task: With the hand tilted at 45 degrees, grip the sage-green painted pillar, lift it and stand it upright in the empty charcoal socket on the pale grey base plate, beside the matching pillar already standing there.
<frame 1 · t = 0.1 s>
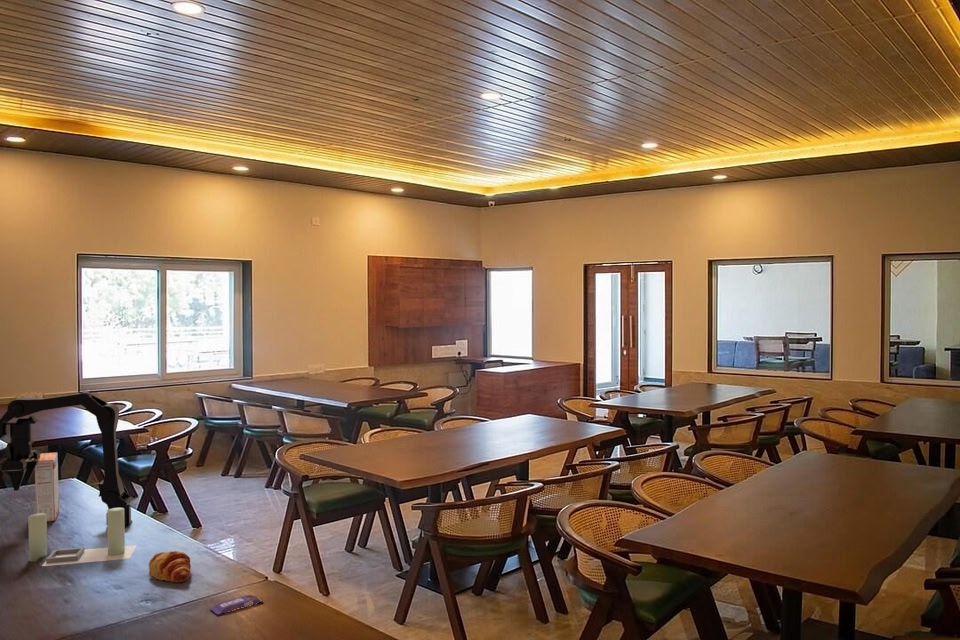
hand: (21, 487, 233), 15 cm above the table, tool pointing down, fingers open, 9 cm apart
pillar: (38, 559, 209), on the table
base plate: (91, 558, 210), on the table
croissant: (170, 575, 197), on the table
fixed pillar: (116, 553, 211), resting on base plate
cracker box: (47, 517, 251), on the table
snack package: (237, 609, 176), on the table
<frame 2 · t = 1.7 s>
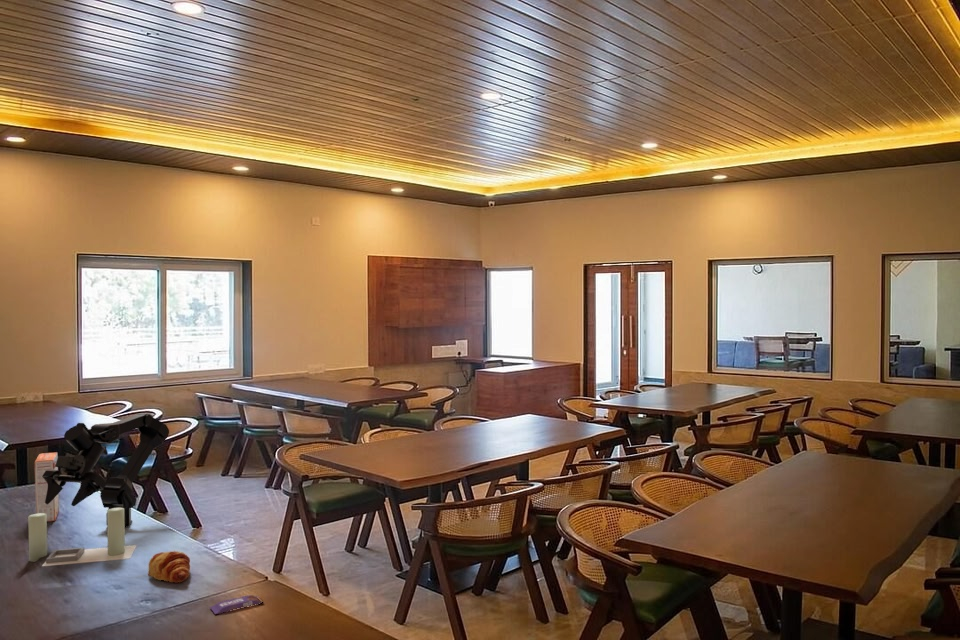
hand: (59, 504, 217), 13 cm above the table, tool tilted 45°, fingers open, 9 cm apart
nothing on the table moved.
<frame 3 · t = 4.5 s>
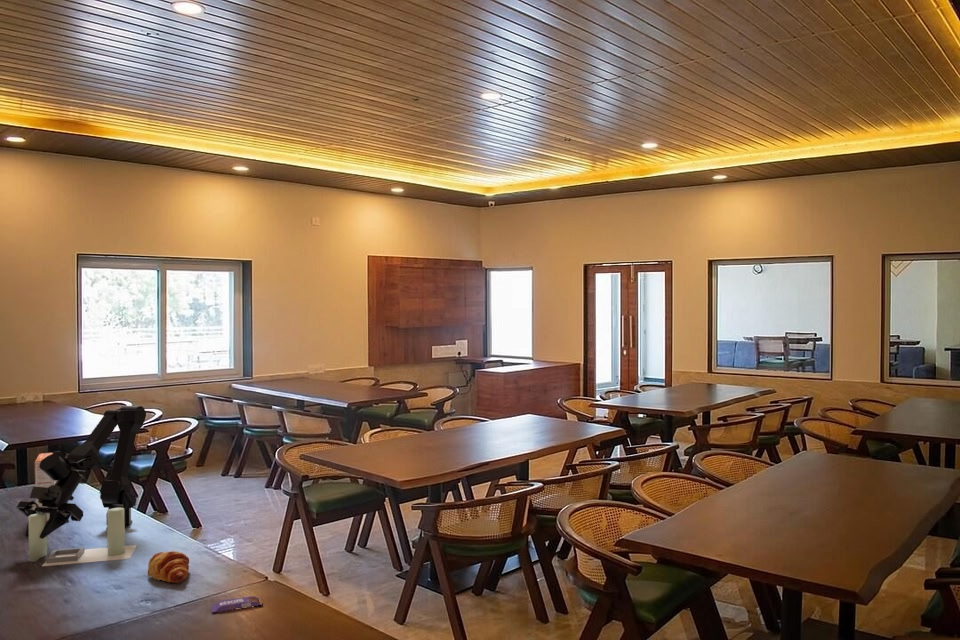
hand: (33, 537, 208), 7 cm above the table, tool tilted 45°, fingers closed on pillar, 4 cm apart
pillar: (38, 559, 209), on the table, touching gripper
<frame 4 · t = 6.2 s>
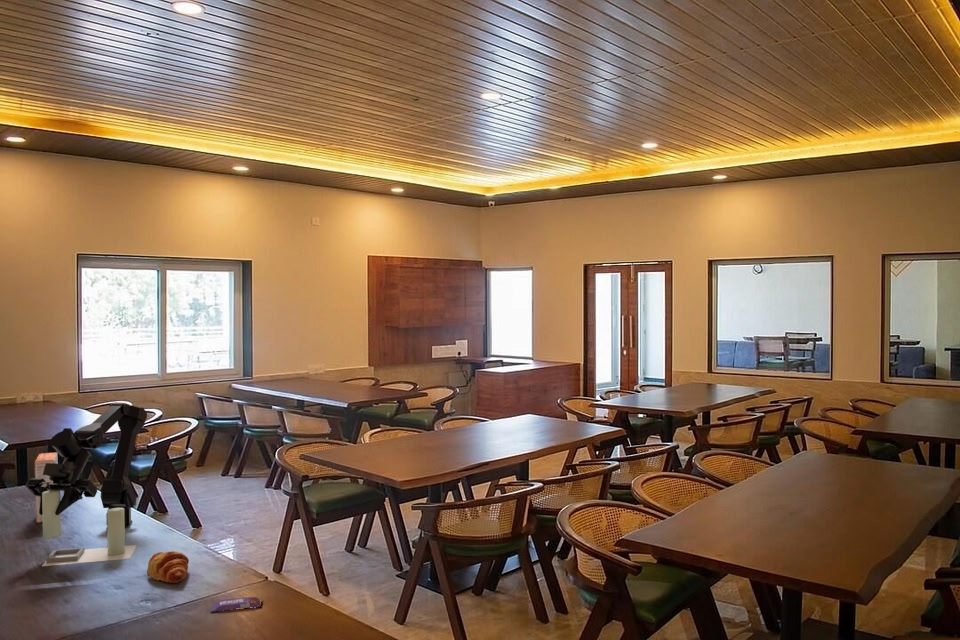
hand: (48, 514, 207), 13 cm above the table, tool tilted 45°, fingers closed on pillar, 4 cm apart
pillar: (51, 536, 208), point 7 cm above the table, touching gripper
when the fingers open (9 cm above the table, at t = 7.9 s): pillar drops 1 cm, resting on base plate.
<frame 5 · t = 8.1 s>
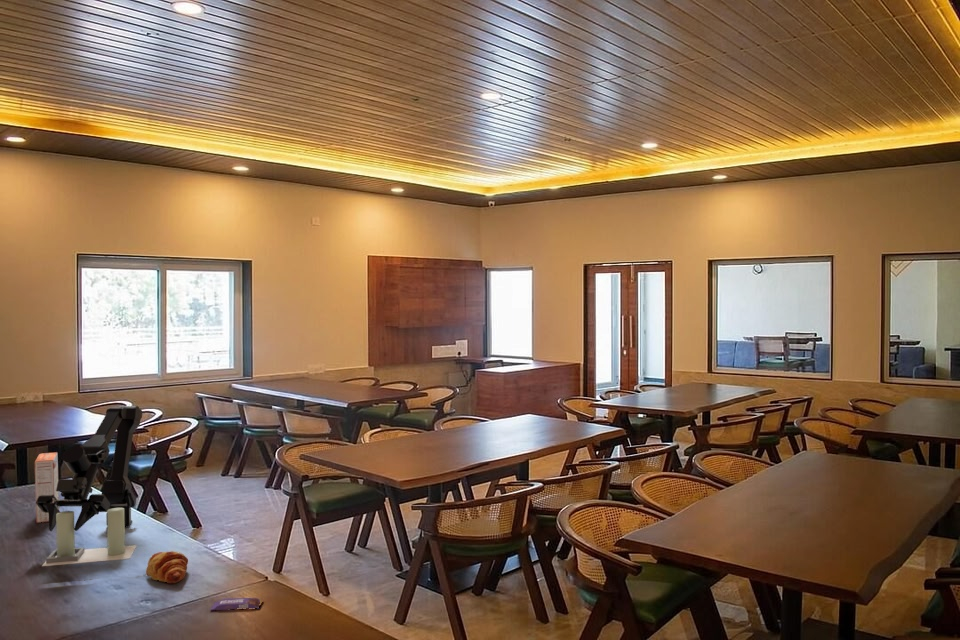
hand: (62, 530, 206), 9 cm above the table, tool tilted 45°, fingers open, 7 cm apart
pillar: (65, 557, 208), point 1 cm above the table, touching base plate
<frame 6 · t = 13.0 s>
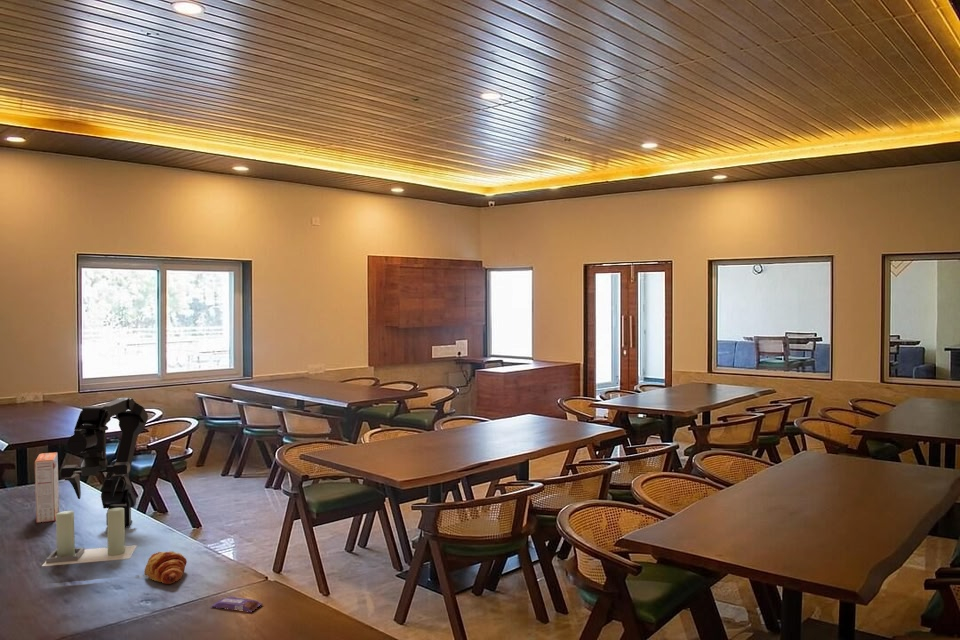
hand: (95, 497, 226), 13 cm above the table, tool pointing down, fingers open, 9 cm apart
at the end: pillar 0.1 cm from the target spot on the base plate, point 1.0 cm above the base plate's base; pillar tilted 1°; the gripper is holding nothing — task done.
